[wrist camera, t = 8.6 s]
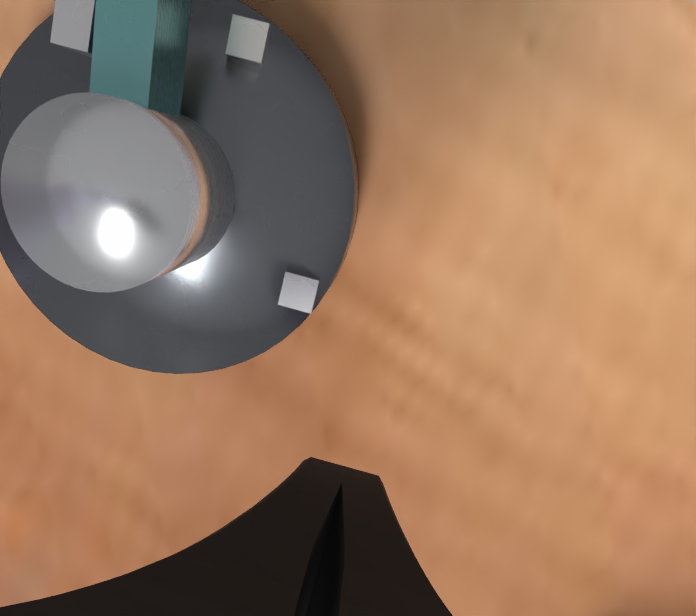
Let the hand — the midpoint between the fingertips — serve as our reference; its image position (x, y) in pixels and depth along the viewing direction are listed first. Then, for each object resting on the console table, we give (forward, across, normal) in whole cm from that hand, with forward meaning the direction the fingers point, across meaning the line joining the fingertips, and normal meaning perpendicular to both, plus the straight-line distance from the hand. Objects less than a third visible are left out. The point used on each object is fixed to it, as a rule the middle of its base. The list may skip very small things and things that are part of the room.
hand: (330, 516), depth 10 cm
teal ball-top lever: (+7, +7, -7) cm, 12 cm away
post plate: (+9, +7, -4) cm, 12 cm away
